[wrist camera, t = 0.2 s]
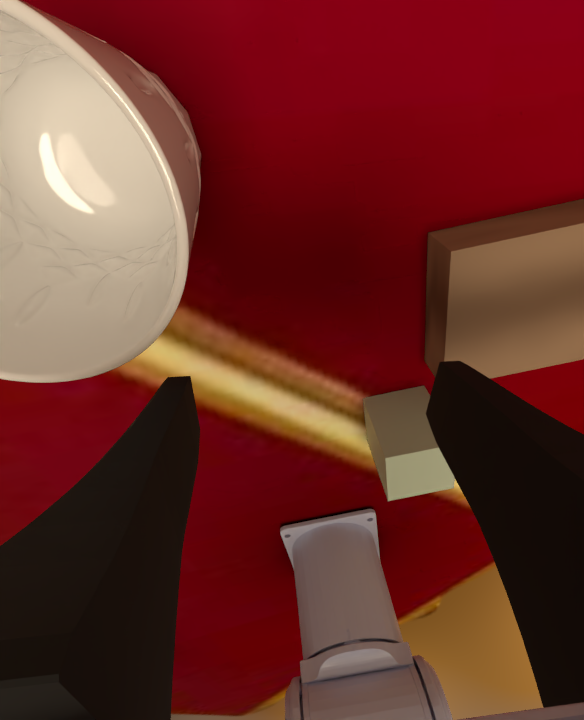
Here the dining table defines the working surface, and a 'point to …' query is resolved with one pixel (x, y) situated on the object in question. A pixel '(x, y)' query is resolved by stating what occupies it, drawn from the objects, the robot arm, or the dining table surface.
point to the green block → (405, 444)
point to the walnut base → (507, 291)
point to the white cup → (87, 201)
